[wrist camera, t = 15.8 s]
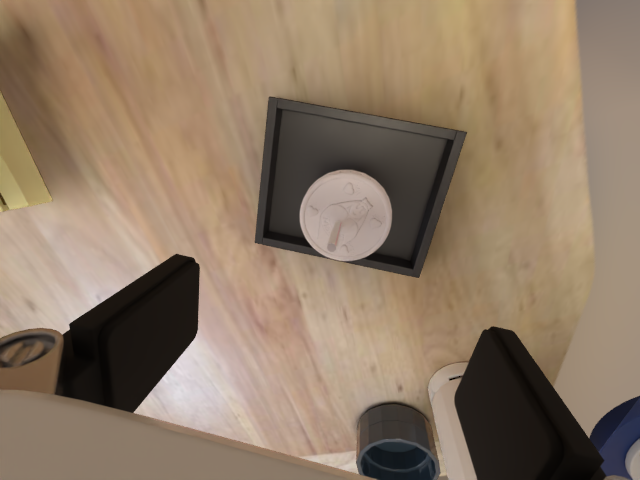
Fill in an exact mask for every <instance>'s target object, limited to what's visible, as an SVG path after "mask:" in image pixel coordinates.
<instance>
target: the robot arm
mask: <svg viewBox="0 0 640 480" xmlns="http://www.w3.org/2000/svg"><path fill="white" fill-rule="evenodd" d="M199 271H200V267H199V264H198V263H196V262H195V259H194V258H192V257H187V256H183V255H179V254H176V255H174V256H172V257H170V258H169V259H167V260H166V261H164V262H163V263H161V264H160V265H158V266H157V267H155V268H154V269H152V270H151V271H149V272H148V273H146V274H145V275H143V276H142V277H140V278H138V279H137V280H135V281H134V282H132V283H131V284H129V285H128V286H126V287H125V288H123V289H122V290H120V291H119V292H117V293H116V294H114V295H113V296H111V297H110V298H108V299H106V300H105V301H103V302H102V303H100V304H99V305H97V306H96V307H94V308H93V309H91V310H90V311H88V312H87V313H85V314H84V315H82V316H81V317H79V318H78V319H76V320H74V321H73V322H71V323H70V324H69V326H70V330H69V331H67V332H66V333H64V334H63V335H62V334H61V333H60V332H59V331H56V330H53V329H46V328H36V329H28V330H23V331H19V332H15V333H12V334H9V335H7V336H4V337H2V338H0V480H377V479H374V478H370V477H366V476H363V475H359V474H356V473H352V472H348V471H345V470H341V469H338V468H334V467H330V466H327V465H323V464H320V463H316V462H312V461H309V460H305V459H301V458H298V457H294V456H291V455H287V454H283V453H280V452H276V451H272V450H269V449H265V448H261V447H258V446H254V445H250V444H247V443H243V442H240V441H236V440H232V439H228V438H225V437H221V436H217V435H214V434H210V433H206V432H202V431H199V430H195V429H191V428H188V427H184V426H180V425H176V424H173V423H169V422H165V421H162V420H158V419H154V418H150V417H147V416H143V415H139V414H135V413H133V412H134V411H135V410H136V409H137V408H138V406H139V405H140V404H141V403H142V401H143V400H144V399H145V398H146V397H147V395H148V394H149V393H150V392H151V391H152V389H153V388H154V387H155V386H156V385H157V383H158V382H159V381H160V380H161V379H162V377H163V376H164V375H165V374H166V373H167V371H168V370H169V369H170V368H171V366H172V365H173V364H174V363H175V362H176V360H177V359H178V358H179V357H180V356H181V354H182V353H183V352H184V351H185V350H186V348H187V347H188V346H189V345H190V344H191V342H192V341H193V340H194V338H195V336H196V334H197V330H198V304H199ZM454 404H455V408H456V411H457V414H458V418H459V421H460V424H461V428H462V431H463V434H464V438H465V441H466V444H467V448H468V451H469V454H470V457H471V461H472V464H473V467H474V471H475V474H476V477H477V480H630V479H628V478H625V477H622V476H616V475H611V476H606V474H605V473H604V471H603V470H602V468H601V467H600V466H601V465H602V463H603V462H604V459H603V458H602V456H601V455H600V453H599V452H598V451H597V449H596V448H595V446H594V445H593V444H592V442H591V441H590V439H589V438H588V436H587V435H586V434H585V432H584V431H583V429H582V428H581V426H580V425H579V424H578V422H577V421H576V419H575V418H574V416H573V415H572V414H571V412H570V411H569V409H568V408H567V406H566V405H565V404H564V402H563V401H562V399H561V398H560V396H559V395H558V394H557V392H556V391H555V389H554V388H553V386H552V385H551V384H550V382H549V381H548V379H547V378H546V376H545V375H544V374H543V372H542V371H541V369H540V368H539V366H538V365H537V364H536V362H535V361H534V359H533V358H532V356H531V355H530V354H529V352H528V351H527V349H526V348H525V346H524V345H523V344H522V342H521V341H520V339H519V338H518V336H517V335H516V334H515V332H514V331H511V330H507V329H503V328H498V327H494V326H493V327H490V328H489V330H484V331H483V332H482V334H481V336H480V338H479V340H478V343H477V345H476V347H475V349H474V352H473V354H472V356H471V358H470V361H469V363H468V365H467V368H466V370H465V372H464V374H463V377H462V379H461V381H460V383H459V386H458V388H457V390H456V393H455V397H454ZM625 466H626V469H627V472H628V474H629V475H630V476H631V478H632V479H633V480H640V438H639V439H638V440H637V441H636V442H635V443H634V444H633V445H632V446H631V447H630V449H629V451H628V452H627V454H626V459H625Z"/></svg>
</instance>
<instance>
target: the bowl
mask: <svg viewBox="0 0 640 480" xmlns="http://www.w3.org/2000/svg"><path fill="white" fill-rule="evenodd" d="M356 464H357V468H358V472H359V474H360V475H363V476H366V477H370V478H374V479H377V480H437V479H438V477H439V475H440V466H439V460H438V455H437V451H436V446H435V442H434V437H433V432H432V428H431V425H430V423H429V422H428V421H427V419H426V418H425V417H424V416H423V415H422V414H421V413H419V412H417V411H416V410H414V409H412V408H410V407H406V406H402V405H397V404H388V405H382V406H381V405H380V406H378V407H375V408H373V409H370V410H368V411H367V412H366V413H365V414H364V415H363V416H362V417H361V418H360V421H359V424H358V427H357V454H356Z"/></svg>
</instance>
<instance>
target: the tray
mask: <svg viewBox="0 0 640 480" xmlns="http://www.w3.org/2000/svg"><path fill="white" fill-rule="evenodd" d="M466 134H467V132H464V131H458V130H453V129H447V128H442V127H436V126H431V125H425V124H420V123H414V122H408V121H403V120H397V119H392V118H386V117H381V116H375V115H370V114H364V113H359V112H353V111H348V110H342V109H336V108H331V107H325V106H320V105H314V104H309V103H303V102H298V101H292V100H287V99H281V98H275V97H269V101H268V111H267V122H266V132H265V142H264V152H263V163H262V173H261V183H260V194H259V204H258V214H257V224H256V235H255V243H258V244H262V245H267V246H271V247H276V248H281V249H285V250H290V251H295V252H299V253H304V254H309V255H313V256H318V257H323V258H327V259H331V258H328V257H326V256H324V255H322V254H320V253H319V252H318V251H316V250H315V249H314V248H313V247H312V246H311V245H310V244H309V242H308V241H307V240H306V238H305V236H304V234H303V232H302V229H301V225H300V208H301V204H302V201H303V198H304V196H305V195H306V193H307V191H308V189H309V188H310V186H311V185H312V184H313V183H314V182H315V181H316V180H317V179H319V178H320V177H322V176H324V175H325V174H327V173H330V172H334V171H337V170H355V171H358V172H362V173H365V174H367V175H368V176H370V177H372V178H374V179H375V180H376V181H377V182H378V183H379V184H380V185H381V186H382V187H383V188H384V190H385V192H386V193H387V195H388V197H389V199H390V203H391V208H392V223H391V228H390V231H389V234H388V236H387V238H386V240H385V241H384V243H383V244H382V245H381V246H380V247H379V248H378V249H377V250H376V251H375V252H373V253H372V254H370V255H369V256H367V257H364V258H362V259H358V260H353V261H341V262H346V263H351V264H356V265H360V266H365V267H370V268H374V269H379V270H384V271H388V272H393V273H398V274H402V275H407V276H412V277H417V278H419V277H420V274H421V271H422V268H423V265H424V262H425V259H426V256H427V253H428V249H429V246H430V243H431V240H432V237H433V234H434V231H435V228H436V225H437V222H438V219H439V216H440V213H441V210H442V207H443V204H444V201H445V198H446V195H447V192H448V189H449V185H450V182H451V179H452V176H453V173H454V170H455V167H456V164H457V161H458V158H459V155H460V152H461V149H462V146H463V143H464V140H465V137H466ZM332 260H334V259H332ZM337 261H339V260H337Z"/></svg>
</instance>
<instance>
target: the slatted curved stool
mask: <svg viewBox="0 0 640 480" xmlns="http://www.w3.org/2000/svg"><path fill="white" fill-rule="evenodd" d="M51 201H53V200H52V198H51V196H50V194H49V192H48V190H47V188H46V186H45V184H44V181H43V179H42V177H41V175H40V173H39V171H38V169H37V167H36V165H35V163H34V161H33V158H32V156H31V154H30V152H29V150H28V148H27V146H26V144H25V142H24V140H23V137H22V135H21V133H20V131H19V129H18V127H17V125H16V123H15V121H14V119H13V116H12V114H11V112H10V110H9V108H8V106H7V104H6V102H5V100H4V98H3V95H2V93H1V91H0V212H1V211H6V210H12V209H18V208H23V207H29V206H33V205H38V204H42V203H46V202H51Z"/></svg>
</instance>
